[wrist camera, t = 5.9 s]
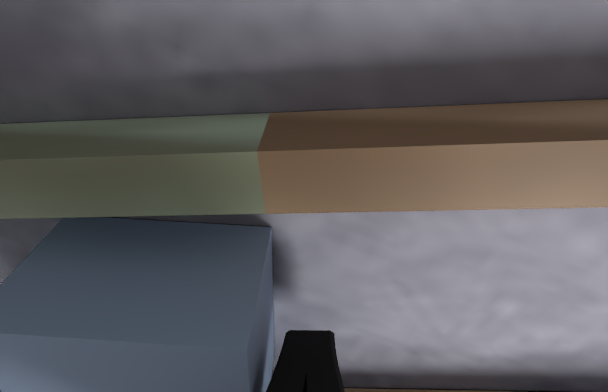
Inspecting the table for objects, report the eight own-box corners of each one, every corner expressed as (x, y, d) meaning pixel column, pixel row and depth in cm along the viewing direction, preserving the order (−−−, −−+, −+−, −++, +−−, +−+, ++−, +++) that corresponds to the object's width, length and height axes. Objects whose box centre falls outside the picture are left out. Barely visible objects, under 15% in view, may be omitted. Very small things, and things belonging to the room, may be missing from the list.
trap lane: (663, 415, 15) (704, 474, 14) (-7, 401, 18) (-42, 449, 16) (937, 85, 8) (1092, 124, 6) (-250, 134, 10) (-359, 171, 9)
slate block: (274, 354, 15) (257, 479, 11) (115, 344, 15) (52, 463, 11) (271, 227, 11) (246, 350, 8) (66, 215, 11) (-43, 330, 8)
